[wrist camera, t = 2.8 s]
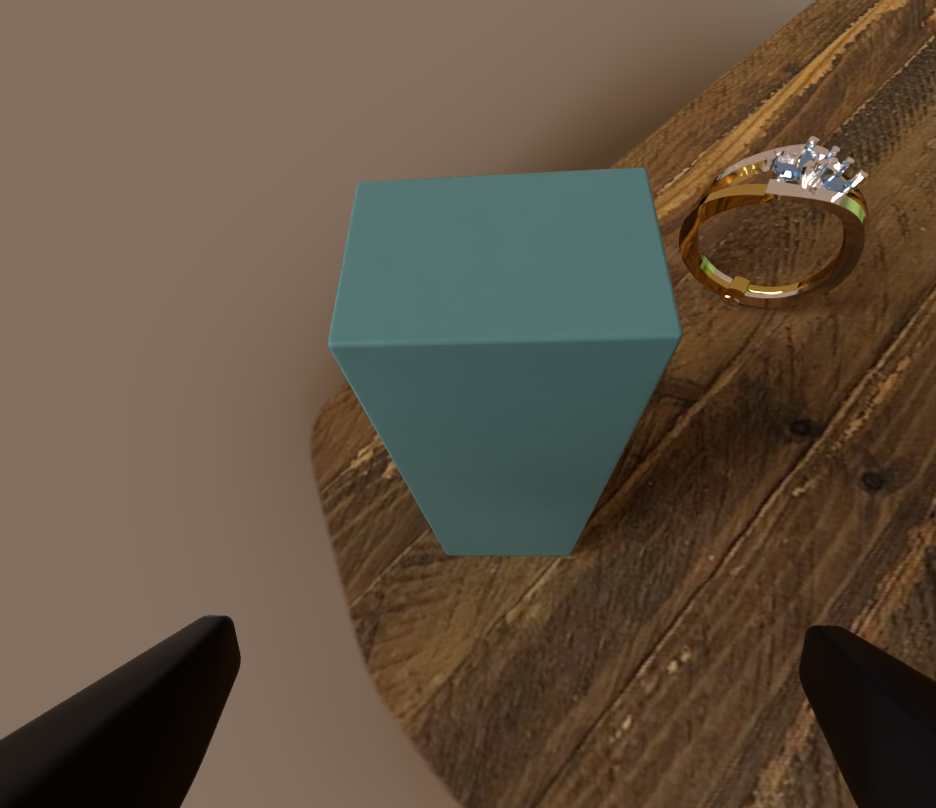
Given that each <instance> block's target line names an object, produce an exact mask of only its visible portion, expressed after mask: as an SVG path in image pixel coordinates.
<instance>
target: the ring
mask: <svg viewBox="0 0 936 808" xmlns="http://www.w3.org/2000/svg"><path fill="white" fill-rule="evenodd" d="M819 141H820V140H819V139H818V138H816V137H814V136H812V137H810V139H809V140H808V142H807V143H806V144H802V145H792V146H786V147H781V148H775V149H773V150H769V151H766V152H762V153H759V154H756V155H753V156H751V157H748V158H746V159H744V160H741V161H739V162H738V163H736V164H734V165H732V166H731V167H729V168H728V169H726V170H725V171H724V172H722V173H721V174H720V175H719V176H717V177H716V178H715V179H714V180H713V181H712V182H711V183H710V184H709V185H708V186H707V187H706V189H705V190H704V191H703V192H702V193H701V195H700V196H699V197H698V199H697V200H696V202H695V203H694V205H693V206H692V208H691V210H690V211H689V213H688V215H687V217H686V219H685V221H684V223H683V225H682V227H681V230H680V235H679V248H680V253H681V256H682V259H683V261H684V263H685V265H686V267H687V268H688V270H689V271H690V273H691V274H692V275H693V276H694V277H695V278H696V279H697V280H698V281H699V282H700V283H701V284H702V285H704V286H705V287H706V288H708V289H709V290H711V291H713V292H714V293H716V294H718V295H720V296H722V297H723V298H722V299H723V301H725V302H726V303H728V304H731V305H739V304H740V303H741V304H745V305H750V306H757V307H785V306H791V305H796V304H800V303H804V302H807V301H810V300H813V299H815V298H818V297H820V296H822V295H824V294H826V293H828V292H829V291H831V290H833V289H834V288H836V287H837V286H838V285H840V284H841V283H842V282H843V281H844V280H845V279H846V278H847V277H848V276H849V275H850V274H851V272H852V271H853V270H854V268H855V266H856V265H857V263H858V261H859V258H860V256H861V254H862V251H863V249H864V246H865V243H866V239H867V235H868V230H869V211H868V207H867V204H866V201H865V199H864V197H863V195H862V193H861V192H860V190H859V189H858V187H857V185H858V184H859V183H860V182H861V181H862V180H864V179H865V178H866V177H867V176H868V175H867V174H866V173H865V172H864V171H862V170H860V171H859V172H858V173H857V174H856V175H854V176H853V177H852V178H851V179H849V178H848V177H847V176H846V175H845V174H843V173H844V172H845V171H846V170H847V169H848V168H849V167H850V166H851V165H852V164H853V163H854V160H853V159H852V158H850V157H848V158H847V159H846V160H845V161H844V162H843V163H842V164H840V163H839V161H838V159H837V158H836V157H835V156H836V154H837V153H838V152H839V151H840V149H839V148H838V147H837V146H833V147H832V148H831V150H830V151H829V150H827V149H826V148H823V147H820V146H817V145H818V143H819ZM766 171H768V176H769V178H772V179H769V180H768V182H767V184H747V185H738V186H734V185H736V184H737V183H739V182H741V181H743V180H745V179H747V178H749V177H751V176H754V175H756V174H759V173H762V172H766ZM773 197H774V198H775V199H777V200H781V201H786V202H792V203H799V204H805V205H810V206H814V207H818V208H821V209H824V210H826V211H829V212H831V213H833V214H834V215H836V216H837V217H838V218H839V219H840V220H841V221H842V225H843V243H842V247H841V249H840V251H839V252H838V254H837V255H836V257H835V258H834V259H833V260H832V261H831V262H830V263H829V264H828V265H827V266H826V267H825V268H824V269H823V270H821V271H820V272H819V273H817V274H815V275H814V276H812V277H810V278H808V279H806V280H804V281H801V282H798V283H795V284H792V285H787V286H780V287H762V286H755V285H750V281H749V280H747V279H745V278H743V277H738V276H736V277H734V278H733V279H732V278H730V277H728V276H726V275H725V274H723V273H721V272H720V271H719V270H717V269H716V268H715V267H714V266H713V265H712V264H711V263H710V262H709V261H708V259H707V258H706V257H705V255H704V253H703V251H702V249H701V246H700V242H699V235H698V232H699V227H700V226H701V224H702V223H704V222H705V221H706V220H707V219H709V218H710V217H712V216H714V215H716V214H718V213H721V212H724V211H727V210H730V209H734V208H738V207H742V206H748V205H754V204H763V203H769V202H771V200H772V199H773Z"/></svg>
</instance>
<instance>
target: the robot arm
mask: <svg viewBox="0 0 936 808" xmlns="http://www.w3.org/2000/svg"><path fill="white" fill-rule="evenodd" d="M240 659H241V656H240V650H239V646H238V642H237V637H236V632H235V628H234V623H233V621H232V620H231V618H230V617H228V616H215V615H209V616H204V617H201V618H200V619H198V620H196V621H195V622H193V623H191V624H190V625H188V626H187V627H185V628H183V629H181V630H180V631H178V632H177V633H175V634H173V635H172V636H170V637H168V638H167V639H165V640H163V641H162V642H160V643H159V644H157V645H155V646H154V647H152V648H150V649H149V650H147V651H145V652H144V653H142V654H140V655H139V656H137V657H136V658H134V659H132V660H131V661H129V662H127V663H126V664H124V665H122V666H121V667H119V668H118V669H116V670H114V671H113V672H111V673H109V674H108V675H106V676H105V677H103V678H101V679H100V680H98V681H96V682H95V683H93V684H91V685H90V686H88V687H86V688H85V689H83V690H81V691H80V692H78V693H76V694H75V695H73V696H72V697H70V698H68V699H67V700H65V701H63V702H62V703H60V704H59V705H57V706H55V707H54V708H52V709H51V710H49V711H47V712H45V713H44V714H42V715H41V716H39V717H37V718H35V719H34V720H33V721H31V722H29V723H27V724H26V725H24V726H22V727H21V728H19V729H18V730H16V731H14V732H13V733H11V734H9V735H8V736H6V737H4V738H3V739H1V740H0V808H180V806H181V805H182V803H183V801H184V798H185V797H186V795H187V793H188V791H189V789H190V786H191V785H192V782H193V780H194V778H195V776H196V774H197V772H198V770H199V768H200V765H201V763H202V761H203V758H204V756H205V753H206V751H207V748H208V746H209V744H210V741H211V739H212V736H213V734H214V731H215V729H216V726H217V724H218V721H219V719H220V716H221V714H222V711H223V709H224V706H225V704H226V702H227V699H228V696H229V694H230V692H231V689H232V687H233V684H234V682H235V679H236V677H237V674H238V671H239V668H240V662H241V660H240ZM799 676H800V681H801V684H802V687H803V689H804V692H805V694H806V696H807V698H808V700H809V703H810V705H811V707H812V709H813V711H814V714H815V716H816V718H817V720H818V723H819V725H820V727H821V729H822V731H823V734H824V736H825V738H826V740H827V742H828V745H829V747H830V749H831V751H832V753H833V756H834V758H835V760H836V762H837V764H838V767H839V769H840V771H841V773H842V775H843V778H844V780H845V782H846V784H847V786H848V788H849V790H850V792H851V794H852V796H853V798H854V800H855V802H856V804H857V806H858V808H936V681H934V680H932V679H931V678H929V677H927V676H925V675H924V674H922V673H920V672H919V671H917V670H915V669H913V668H912V667H910V666H908V665H907V664H905V663H903V662H901V661H900V660H898V659H896V658H894V657H893V656H891V655H889V654H888V653H886V652H884V651H882V650H881V649H879V648H877V647H876V646H874V645H872V644H870V643H869V642H867V641H865V640H864V639H862V638H860V637H858V636H857V635H855V634H853V633H852V632H850V631H848V630H846V629H844V628H843V627H839V626H817V625H815V626H811V627H810V628H809V629H808V630H807V632H806V635H805V640H804V646H803V651H802V656H801V661H800V666H799Z"/></svg>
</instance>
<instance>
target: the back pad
mask: <svg viewBox="0 0 936 808" xmlns="http://www.w3.org/2000/svg"><path fill="white" fill-rule="evenodd" d="M682 336H683V333H682V328H681V324H680V319H679V315H678V310H677V305H676V301H675V296H674V292H673V287H672V283H671V278H670V273H669V269H668V264H667V260H666V255H665V251H664V246H663V241H662V237H661V232H660V228H659V223H658V219H657V214H656V210H655V205H654V200H653V196H652V191H651V187H650V182H649V178H648V173H647V169H646V168H643V167H636V168H618V169H600V170H581V171H561V172H542V173H524V174H505V175H486V176H467V177H448V178H429V179H411V180H391V181H372V182H360V183H358V184H357V187H356V192H355V198H354V203H353V209H352V214H351V219H350V225H349V231H348V236H347V241H346V247H345V252H344V258H343V263H342V269H341V274H340V279H339V285H338V290H337V296H336V301H335V306H334V313H333V318H332V323H331V328H330V334H329V339H328V347H329V349H330V351H331V352H332V354H333V356H334V358H335V359H336V361H337V363H338V365H339V366H340V368H341V370H342V372H343V374H344V375H345V377H346V379H347V381H348V382H349V384H350V386H351V388H352V389H353V391H354V393H355V395H356V396H357V398H358V400H359V402H360V403H361V405H362V407H363V409H364V410H365V412H366V414H367V416H368V417H369V419H370V421H371V423H372V424H373V426H374V428H375V430H376V431H377V433H378V435H379V437H380V439H381V440H382V442H383V444H384V446H385V447H386V449H387V451H388V453H389V454H390V456H391V458H392V460H393V461H394V463H395V465H396V467H397V468H398V470H399V472H400V474H401V475H402V477H403V479H404V481H405V482H406V484H407V486H408V488H409V489H410V491H411V493H412V495H413V496H414V498H415V500H416V502H417V504H418V505H419V507H420V509H421V511H422V512H423V514H424V516H425V518H426V519H427V521H428V523H429V525H430V526H431V528H432V530H433V532H434V533H435V535H436V537H437V539H438V540H439V542H440V544H441V546H442V547H443V549H444V551H445V553H446V554H447V555H480V556H570V555H571V553H572V551H573V549H574V547H575V545H576V543H577V541H578V539H579V537H580V535H581V533H582V531H583V529H584V527H585V526H586V524H587V522H588V520H589V518H590V516H591V514H592V512H593V510H594V508H595V506H596V504H597V502H598V500H599V498H600V496H601V494H602V492H603V490H604V489H605V487H606V485H607V483H608V481H609V479H610V477H611V475H612V473H613V471H614V469H615V467H616V465H617V463H618V461H619V459H620V457H621V455H622V453H623V452H624V450H625V448H626V446H627V444H628V442H629V440H630V438H631V436H632V434H633V432H634V430H635V428H636V426H637V424H638V422H639V420H640V418H641V417H642V415H643V413H644V411H645V409H646V407H647V405H648V403H649V401H650V399H651V397H652V395H653V393H654V391H655V389H656V387H657V385H658V383H659V381H660V380H661V378H662V376H663V374H664V372H665V370H666V368H667V366H668V364H669V362H670V360H671V358H672V356H673V354H674V352H675V350H676V348H677V346H678V344H679V343H680V341H681V339H682Z"/></svg>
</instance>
